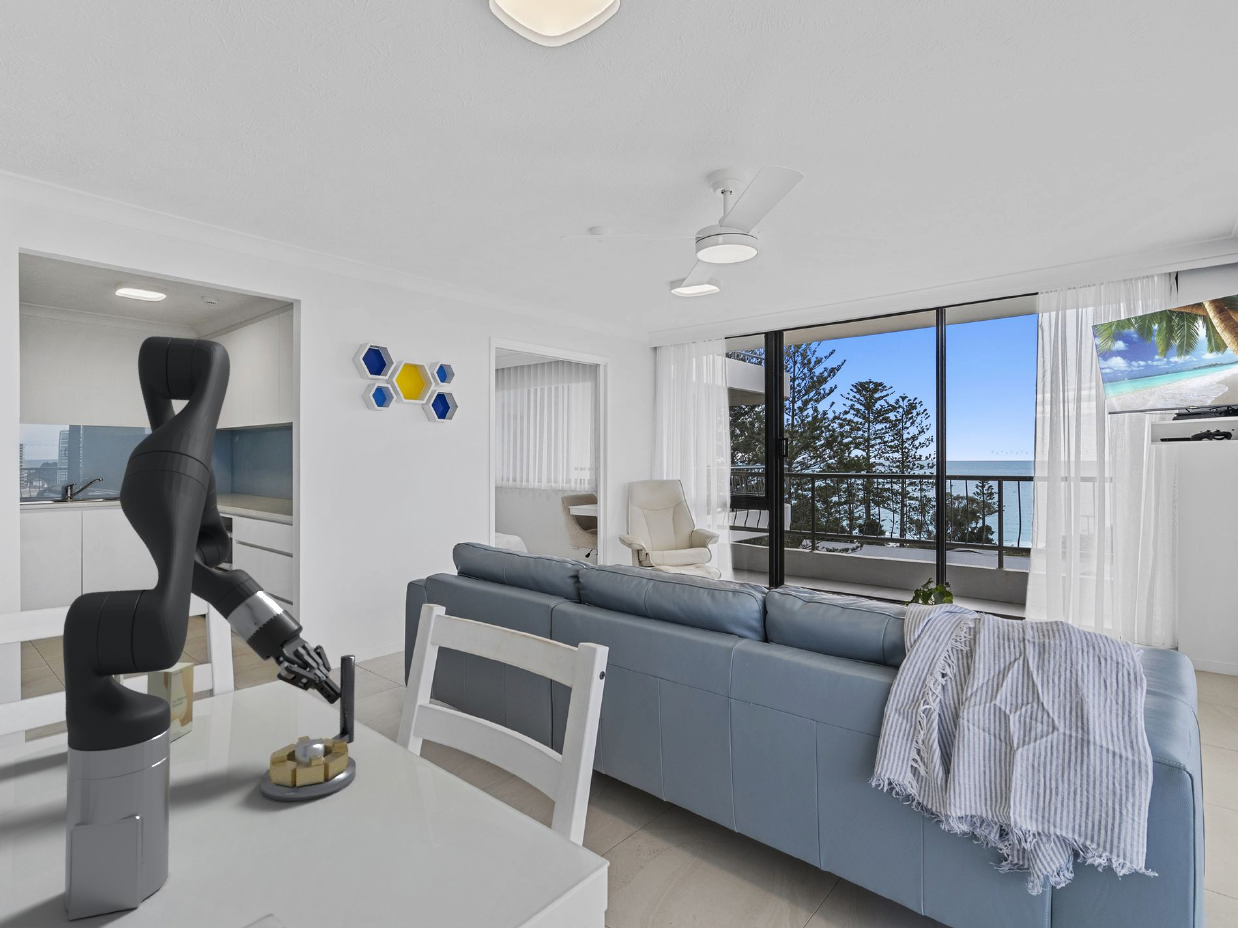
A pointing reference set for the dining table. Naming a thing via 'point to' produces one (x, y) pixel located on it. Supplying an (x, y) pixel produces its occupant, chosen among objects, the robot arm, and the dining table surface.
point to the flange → (311, 790)
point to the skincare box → (175, 695)
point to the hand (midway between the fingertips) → (338, 698)
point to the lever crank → (334, 749)
